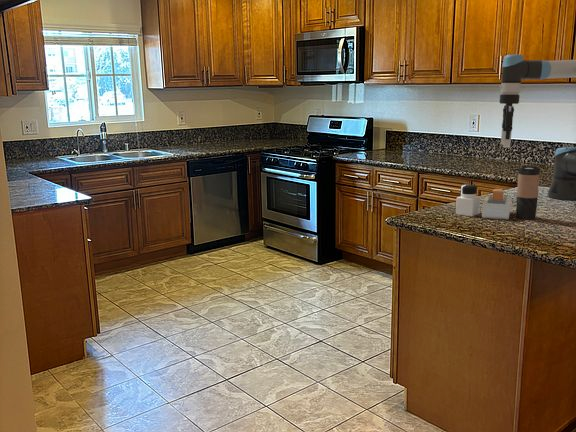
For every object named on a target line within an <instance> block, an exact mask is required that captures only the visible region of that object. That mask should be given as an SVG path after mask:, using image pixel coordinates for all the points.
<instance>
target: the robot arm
mask: <svg viewBox="0 0 576 432" xmlns="http://www.w3.org/2000/svg"><path fill="white" fill-rule="evenodd" d="M502 60H503V61H502V71H501V81H500V83H501V84H500V85H499V88H500V93H501V94H500V95H499V103H500V104H505V105H504V106H503V108H502V124H501V128H502V129H501V136H500V137H501V138H500V145H502V148H511V139H512V133H513V132H512V131H513V123H514V122H513V119H514V112H515V108H514V105H518V104H520V97H521V96H520V93H521V86H522V80H524V81H525V80H546V79H567V78H568V79H569V78H571V79H573V78H576V59H560V60H543V59H539V60H538V59H537V60H536V59H535V60H533V59H532V60H531V59H530V60H529V59H528V60H526V59H524V55H523V54H507V55H504V57H503V59H502ZM553 165H554V166H553V177H552V182H551V183H550V186H549V189H548V190H547V197H548V198H551V199H555V200H563V201H576V146H573V147H572V146H571V147H558V148H556V149H555V154H554V163H553Z"/></svg>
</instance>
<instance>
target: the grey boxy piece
mask: <svg viewBox="0 0 576 432" xmlns="http://www.w3.org/2000/svg"><path fill="white" fill-rule="evenodd" d="M507 196H508V195H503V200H496V199H492V197H493V194H490V195H489V196H485V197H484V199H483V202H482V206H481V207H482V211H481V212H482V213H481V218H483V219H495V220H497V219H498V220H509V219H510V215H511V212H512V211H511V210H512V208H511V207H512V197H507Z"/></svg>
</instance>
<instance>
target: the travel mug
mask: <svg viewBox="0 0 576 432" xmlns="http://www.w3.org/2000/svg"><path fill="white" fill-rule="evenodd" d="M539 183H540V167H539V166H535V165H534V166H531V165H530V166H529V165H527V166H526V165H524V166H522V167H521V166H519V167H518V176H517V189H516V206H515V208H516V209H515V217H516V219H519V220H525V221H527V220H528V221H531V220H532V221H533V220H536V216H537V208H538V198H539V186H540V185H539Z"/></svg>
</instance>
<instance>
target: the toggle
mask: <svg viewBox="0 0 576 432" xmlns="http://www.w3.org/2000/svg"><path fill="white" fill-rule="evenodd" d="M504 192H505V191H504V189H500V188H498V189H497V188H494V189H493V190H492V199H496V200H503V197H504Z"/></svg>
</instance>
